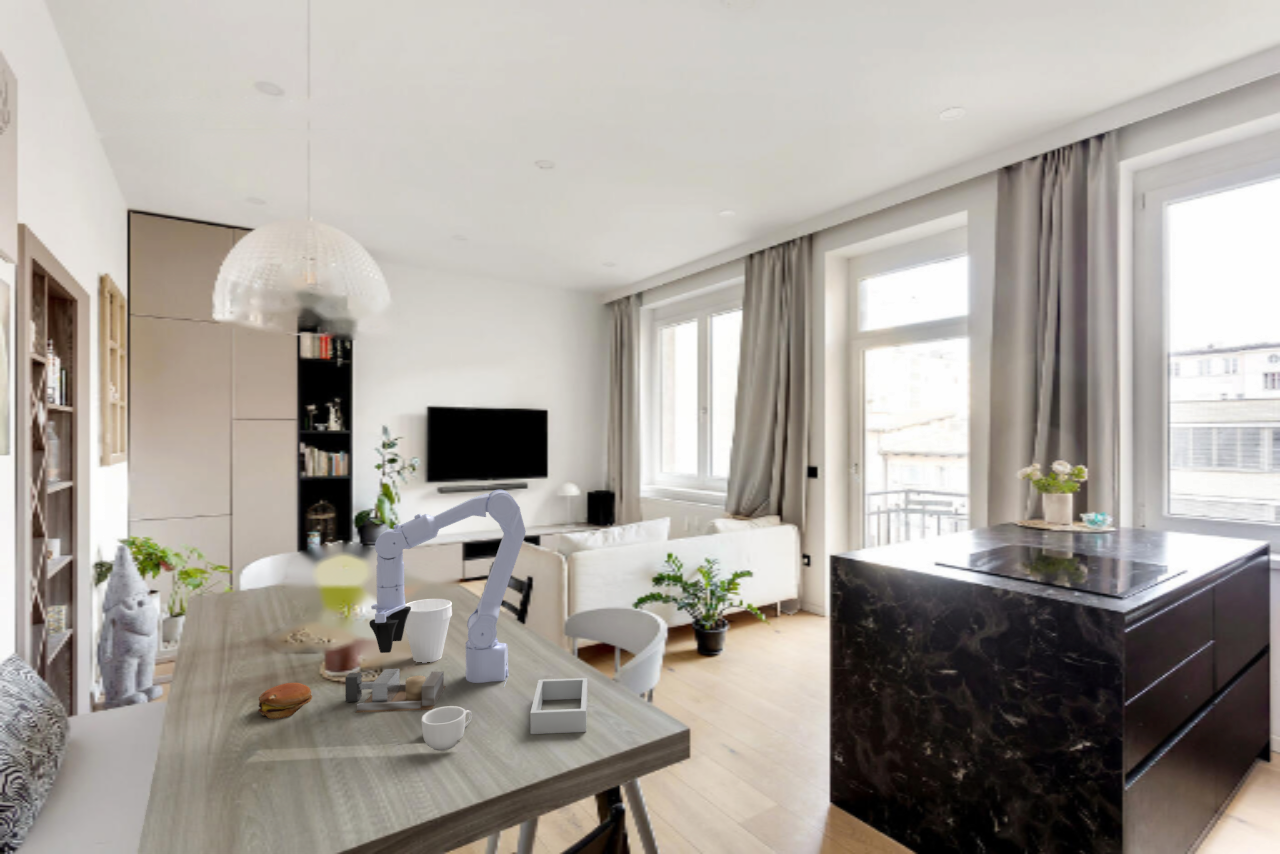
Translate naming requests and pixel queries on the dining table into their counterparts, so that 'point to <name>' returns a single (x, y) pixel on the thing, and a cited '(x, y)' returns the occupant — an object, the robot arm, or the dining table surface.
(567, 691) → the box
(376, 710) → the bench
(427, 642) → the white plant pot
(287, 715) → the burger
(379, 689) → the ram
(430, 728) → the teacup
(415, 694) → the nut
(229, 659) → the dining table surface
